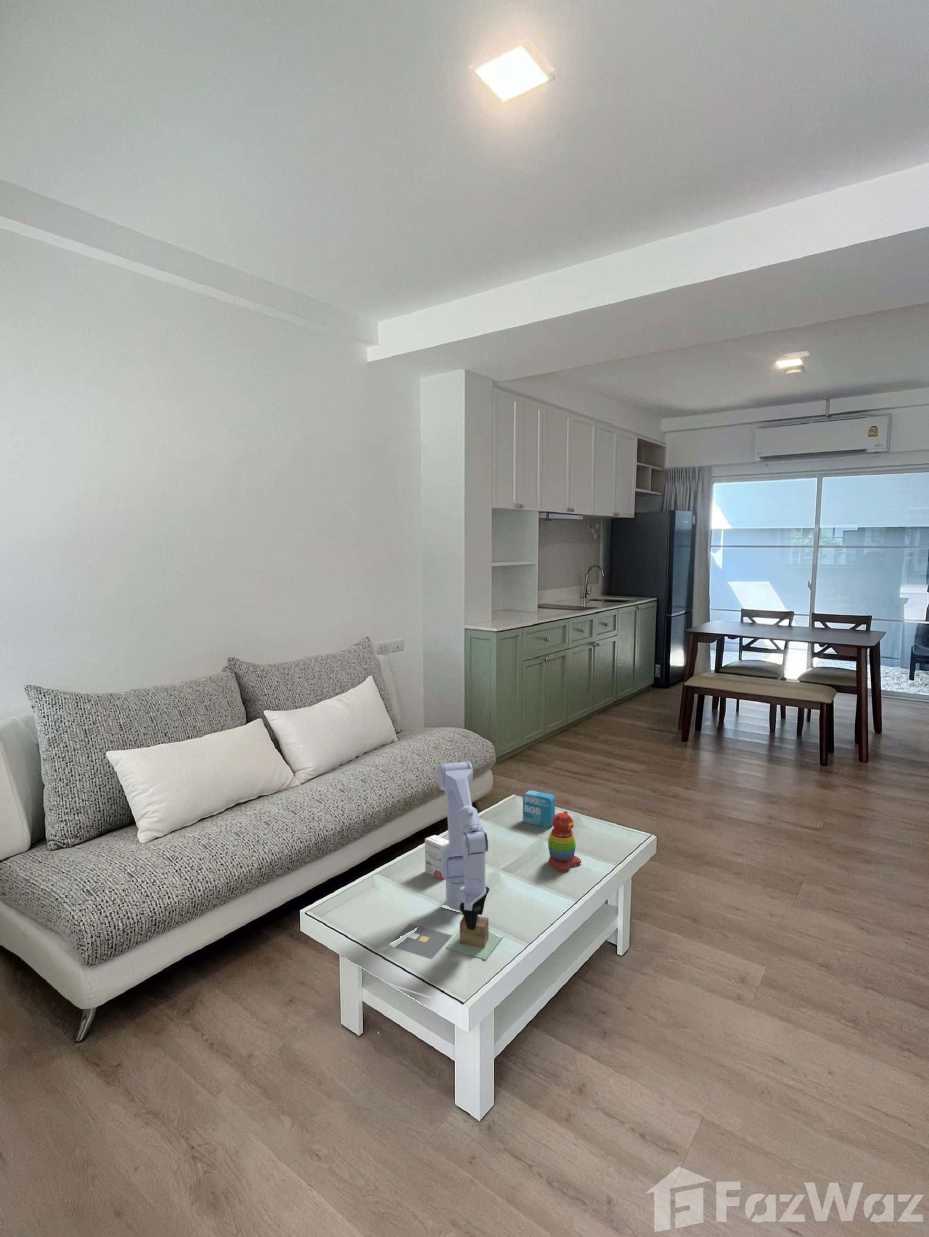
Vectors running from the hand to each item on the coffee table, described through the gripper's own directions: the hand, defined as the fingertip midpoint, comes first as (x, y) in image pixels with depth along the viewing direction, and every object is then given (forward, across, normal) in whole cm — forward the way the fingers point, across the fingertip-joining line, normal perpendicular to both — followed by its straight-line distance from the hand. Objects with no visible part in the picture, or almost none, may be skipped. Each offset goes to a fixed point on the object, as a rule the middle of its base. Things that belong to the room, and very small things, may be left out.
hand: (474, 921), depth 182 cm
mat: (+6, 0, 0) cm, 6 cm away
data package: (+7, -84, +4) cm, 84 cm away
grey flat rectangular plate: (+6, +3, -15) cm, 16 cm away
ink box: (+7, -35, -22) cm, 42 cm away
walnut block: (+6, 0, 0) cm, 6 cm away
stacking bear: (+7, -53, +17) cm, 56 cm away
